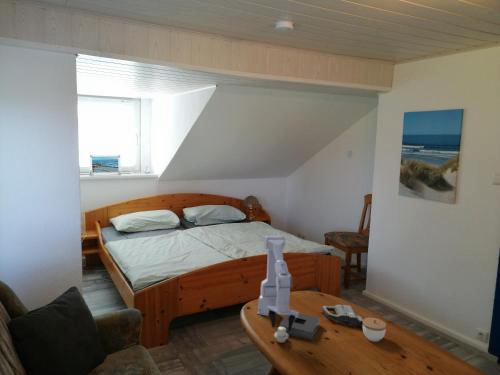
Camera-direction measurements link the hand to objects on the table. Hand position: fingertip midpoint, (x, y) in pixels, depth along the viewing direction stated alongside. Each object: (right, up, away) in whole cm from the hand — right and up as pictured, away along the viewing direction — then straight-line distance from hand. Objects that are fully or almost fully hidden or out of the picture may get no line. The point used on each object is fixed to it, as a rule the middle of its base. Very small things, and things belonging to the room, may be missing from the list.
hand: (281, 328), depth 174 cm
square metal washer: (+10, -5, +12) cm, 16 cm away
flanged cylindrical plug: (0, -6, +1) cm, 6 cm away
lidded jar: (+44, -7, +5) cm, 45 cm away
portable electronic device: (+34, -4, +24) cm, 41 cm away
